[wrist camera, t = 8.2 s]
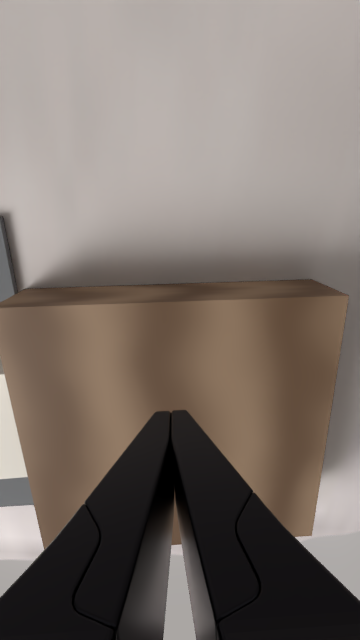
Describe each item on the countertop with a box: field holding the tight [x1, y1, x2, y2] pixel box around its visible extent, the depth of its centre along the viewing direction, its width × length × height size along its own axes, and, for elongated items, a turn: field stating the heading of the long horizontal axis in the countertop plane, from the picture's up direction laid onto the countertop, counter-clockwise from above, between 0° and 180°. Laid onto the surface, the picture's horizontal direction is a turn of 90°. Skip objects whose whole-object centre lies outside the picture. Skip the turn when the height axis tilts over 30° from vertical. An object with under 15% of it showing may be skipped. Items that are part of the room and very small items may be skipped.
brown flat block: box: [0, 279, 349, 550], centre depth 19 cm, size 17×16×4 cm
